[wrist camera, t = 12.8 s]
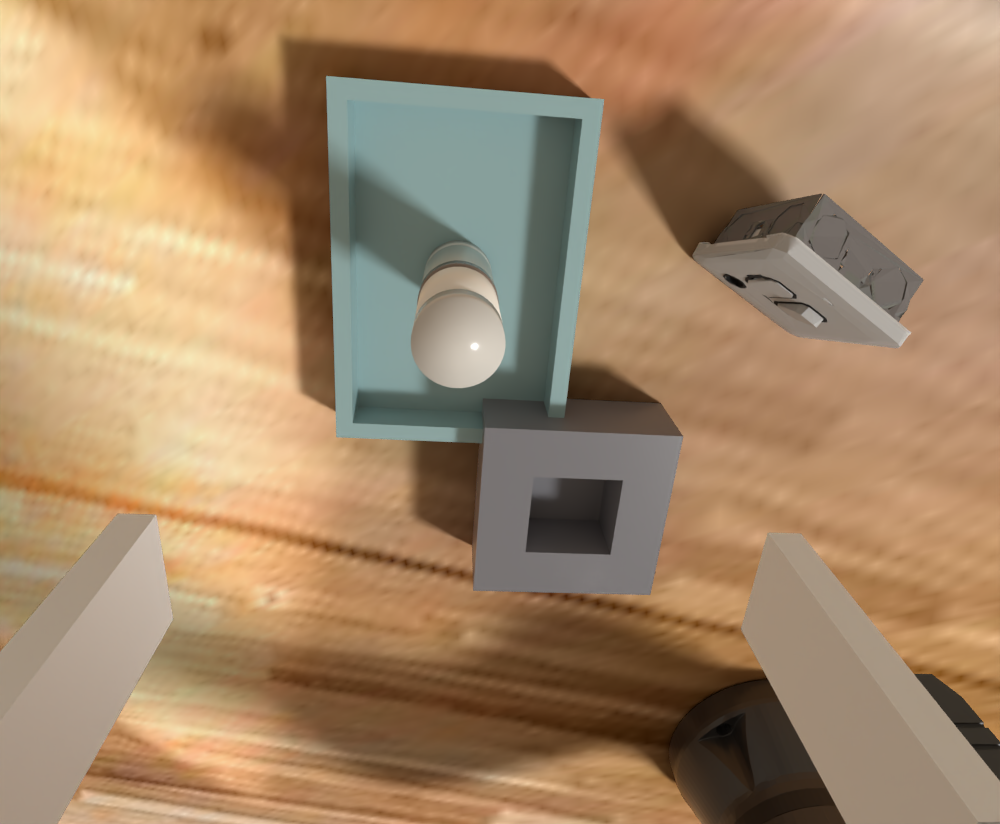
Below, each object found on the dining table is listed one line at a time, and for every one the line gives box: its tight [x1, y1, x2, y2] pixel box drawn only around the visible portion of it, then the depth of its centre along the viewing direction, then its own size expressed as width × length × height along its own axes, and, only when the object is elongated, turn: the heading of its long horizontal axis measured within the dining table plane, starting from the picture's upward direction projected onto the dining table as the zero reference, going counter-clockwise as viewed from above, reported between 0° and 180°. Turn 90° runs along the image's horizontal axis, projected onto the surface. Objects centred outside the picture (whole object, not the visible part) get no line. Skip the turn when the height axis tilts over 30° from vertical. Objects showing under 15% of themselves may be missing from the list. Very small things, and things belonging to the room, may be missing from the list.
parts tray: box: [326, 76, 604, 443], centre depth 39 cm, size 20×14×3 cm
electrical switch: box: [693, 194, 923, 348], centre depth 37 cm, size 9×5×9 cm, turn 55°
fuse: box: [411, 240, 506, 388], centre depth 34 cm, size 4×4×13 cm
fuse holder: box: [472, 398, 683, 595], centre depth 45 cm, size 12×12×5 cm
